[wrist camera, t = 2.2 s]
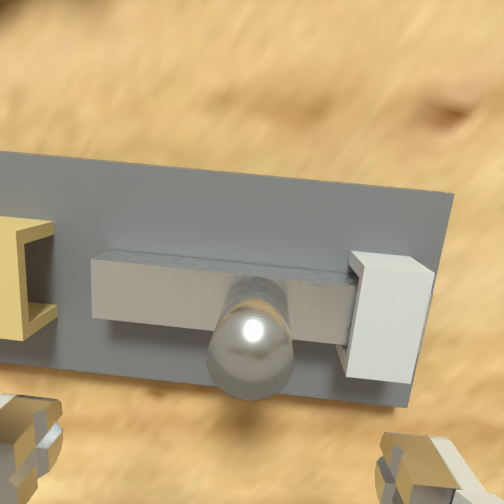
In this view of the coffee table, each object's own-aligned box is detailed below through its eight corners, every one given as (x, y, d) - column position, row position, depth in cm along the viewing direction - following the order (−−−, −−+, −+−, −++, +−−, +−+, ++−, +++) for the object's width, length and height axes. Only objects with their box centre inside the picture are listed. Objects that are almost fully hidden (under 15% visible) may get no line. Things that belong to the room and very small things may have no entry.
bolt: (416, 280, 18) (499, 347, 12) (404, 333, 19) (477, 426, 12) (109, 249, 19) (18, 296, 12) (109, 302, 20) (23, 375, 13)
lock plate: (440, 191, 19) (489, 199, 15) (398, 391, 22) (428, 447, 18) (-40, 147, 20) (-126, 142, 16) (-20, 345, 23) (-88, 387, 18)
